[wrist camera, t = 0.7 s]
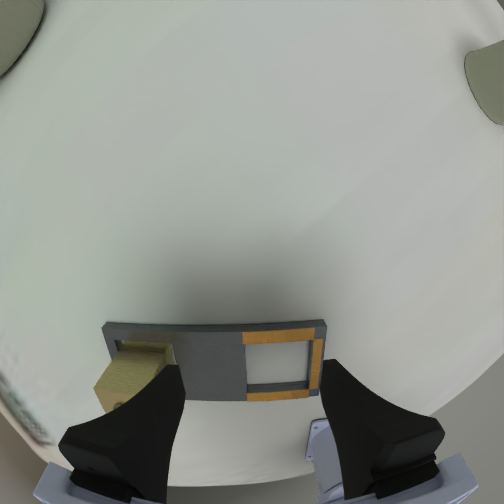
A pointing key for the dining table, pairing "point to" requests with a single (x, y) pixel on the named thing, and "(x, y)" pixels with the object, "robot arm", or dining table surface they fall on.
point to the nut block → (131, 372)
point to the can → (488, 79)
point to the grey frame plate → (227, 356)
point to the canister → (17, 28)
